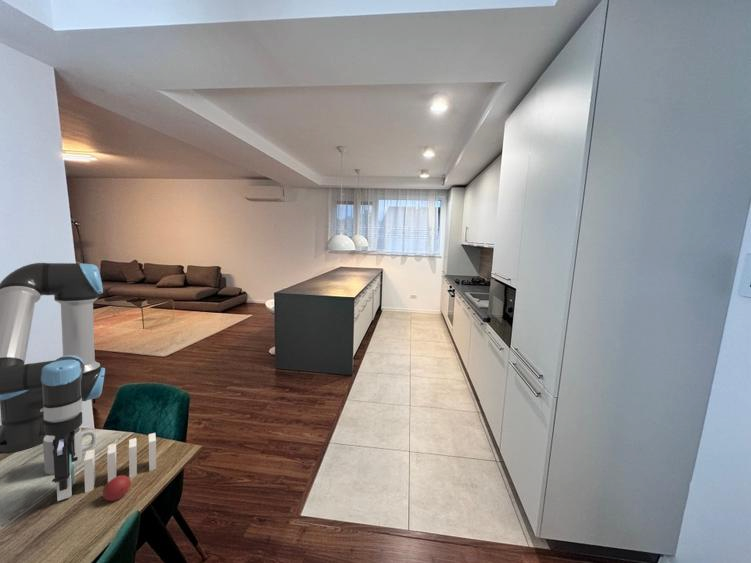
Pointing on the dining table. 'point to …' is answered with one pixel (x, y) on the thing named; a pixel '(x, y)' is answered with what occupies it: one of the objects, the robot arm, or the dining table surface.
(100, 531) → the dining table surface
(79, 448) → the mug
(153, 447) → the domino
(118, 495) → the fruit
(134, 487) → the dining table surface
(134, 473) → the domino
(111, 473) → the domino
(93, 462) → the domino
